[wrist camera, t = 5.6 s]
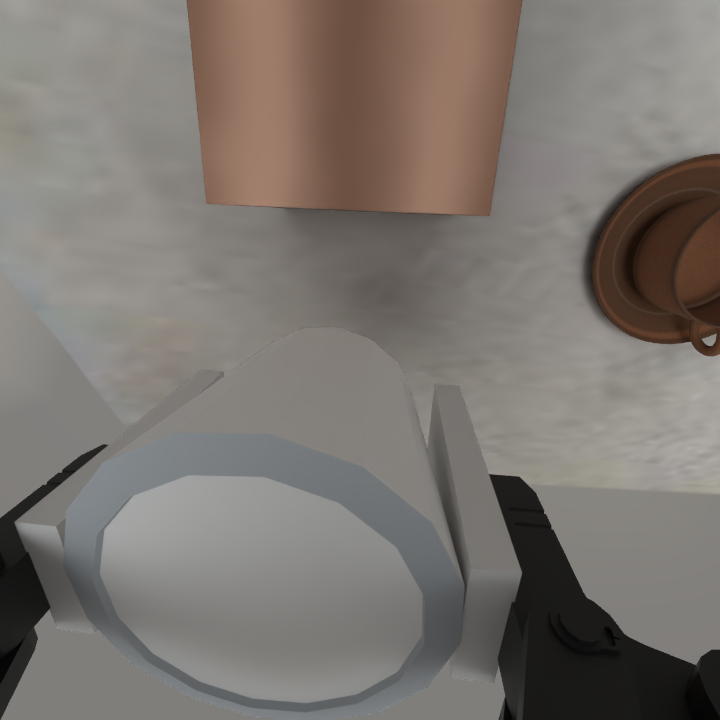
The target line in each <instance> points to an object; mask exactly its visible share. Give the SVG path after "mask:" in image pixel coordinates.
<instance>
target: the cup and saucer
mask: <svg viewBox="0 0 720 720" xmlns="http://www.w3.org/2000/svg"><path fill="white" fill-rule="evenodd" d="M592 277H593V286H594V291H595V295H596V298H597V300H598V303H599V305H600V307H601V308H602V310H603V312H604V313H605V315H606V316H607V317H608V318H609V319H610V321H611V322H612V323H613V324H615V325H616V326H617V327H618V328H619V329H621V330H622V331H623V332H625V333H627V334H629V335H630V336H632V337H635V338H637V339H640V340H643V341H647V342H652V343H660V344H677V343H685V342H692V344H693V346H694V347H695V349H696V350H697V351H698V352H700V353H701V354H703V355H706V356H716V355H719V354H720V154H711V155H704V156H699V157H695V158H692V159H689V160H685V161H682V162H680V163H678V164H675V165H673V166H671V167H669V168H667V169H665V170H663V171H661V172H659V173H658V174H656V175H654V176H653V177H651V178H650V179H648V180H647V181H645V182H644V183H643V184H641V185H640V186H639V187H638V188H636V189H635V190H634V191H633V192H632V193H631V194H630V195H629V196H628V197H627V198H626V199H625V200H624V201H623V202H622V203H621V204H620V206H619V207H618V208H617V209H616V211H615V212H614V213H613V215H612V216H611V218H610V219H609V221H608V223H607V224H606V226H605V228H604V230H603V232H602V234H601V236H600V239H599V241H598V244H597V247H596V251H595V255H594V260H593V269H592ZM716 333H717V336H716V341H715V343H714V345H713V346H707V345H706V344H705V343H704V342H703V341H702V338H706V337H709V336H711V335H714V334H716Z"/></svg>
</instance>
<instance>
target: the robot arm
mask: <svg viewBox="0 0 720 720" xmlns="http://www.w3.org/2000/svg"><path fill="white" fill-rule="evenodd" d="M223 377H224V372H223V371H214V370H200V371H199V372H198V373H196V374H195V375H194V376H193V377H191V378H190V379H189V380H188V381H187V382H185V383H184V384H183V385H182V386H180V387H179V388H178V389H177V390H176V391H174V392H173V393H172V394H171V395H169V396H168V397H167V398H166V399H164V400H163V401H162V402H161V403H160V404H158V405H157V406H156V407H155V408H153V409H152V410H151V411H150V412H149V413H147V414H146V415H145V416H144V417H142V418H141V419H140V420H139V421H138V422H136V423H135V424H134V425H133V426H131V427H130V428H129V429H128V430H126V431H125V432H124V433H123V434H122V435H120V436H119V437H118V438H117V439H115V440H114V441H113V442H112V443H111V444H109V445H105V444H104V445H101V446H99V447H97V448H95V449H93V450H91V451H89V452H87V453H85V454H83V455H81V456H80V457H78V458H77V459H76V460H74V461H73V462H72V463H71V464H70V465H68V466H67V467H65V468H64V469H63V470H62V473H58V474H56V475H55V476H54V477H53V478H51V479H50V480H49V481H48V482H47V484H46V485H42V486H41V487H40V488H38V489H37V490H36V491H35V492H33V493H32V494H31V495H29V496H28V497H27V498H26V499H24V500H23V501H22V502H20V503H19V504H18V505H17V506H15V507H14V508H13V509H11V510H10V511H9V512H8V513H6V514H5V515H4V516H2V517H1V518H0V719H1V717H2V716H3V714H4V711H5V709H6V707H7V705H8V703H9V701H10V699H11V697H12V695H13V693H14V691H15V689H16V687H17V685H18V683H19V681H20V679H21V677H22V675H23V673H24V670H25V669H26V667H27V665H28V663H29V660H30V659H31V657H32V654H33V652H34V650H35V647H36V643H37V640H38V638H37V634H36V632H35V629H34V626H35V625H36V624H37V623H38V621H39V620H40V619H41V618H42V617H43V616H44V614H45V613H46V612H47V611H48V610H49V609H50V612H51V614H52V617H53V619H54V622H55V624H56V627H57V629H58V630H66V631H74V632H82V633H90V634H94V633H95V632H96V631H97V628H96V627H95V626H94V625H93V624H92V623H91V622H90V621H89V620H88V619H87V617H86V614H85V612H84V610H83V608H82V606H81V604H80V602H79V599H78V597H77V595H76V593H75V591H74V589H73V586H72V584H71V582H70V580H69V578H68V576H67V574H66V571H65V569H64V567H63V559H64V542H65V524H66V510H67V509H68V508H69V507H70V505H71V504H72V503H73V501H74V500H75V499H76V497H77V496H78V495H79V493H80V492H81V491H82V490H83V488H84V487H85V486H86V484H87V483H88V482H89V480H90V479H91V478H92V477H93V475H94V474H95V473H96V471H97V470H98V469H99V467H100V466H101V465H102V464H103V462H104V461H106V460H107V459H109V458H110V457H112V456H113V455H114V454H116V453H117V452H119V451H120V450H121V449H123V448H124V447H126V446H127V445H128V444H130V443H131V442H133V441H134V440H135V439H137V438H138V437H140V436H141V435H142V434H144V433H145V432H147V431H148V430H150V429H151V428H152V427H154V426H155V425H157V424H158V423H159V422H161V421H162V420H164V419H165V418H166V417H168V416H169V415H171V414H172V413H173V412H175V411H176V410H178V409H179V408H180V407H182V406H183V405H185V404H186V403H188V402H189V401H190V400H192V399H193V398H195V397H196V396H197V395H199V394H200V393H202V392H203V391H204V390H206V389H207V388H209V387H210V386H211V385H213V384H214V383H216V382H217V381H218V380H220V379H221V378H223ZM427 451H428V455H429V458H430V462H431V466H432V469H433V473H434V477H435V480H436V484H437V487H438V491H439V495H440V498H441V502H442V506H443V509H444V513H445V516H446V520H447V524H448V527H449V531H450V535H451V538H452V542H453V546H454V549H455V553H456V556H457V560H458V564H459V567H460V571H461V575H462V578H463V582H464V586H465V589H464V603H463V617H462V631H461V644H460V645H459V646H458V648H457V649H456V650H455V652H454V653H453V654H452V656H451V657H450V658H449V666H450V675H451V678H456V679H464V680H472V681H480V682H488V683H494V681H495V677H496V673H497V669H498V665H499V668H500V672H501V677H502V682H503V686H504V691H505V699H504V702H503V706H502V710H501V713H500V717H499V720H720V650H711V651H709V652H708V653H706V654H705V655H703V656H702V657H701V658H700V659H699V661H698V663H697V665H694V664H691V663H689V662H686V661H684V660H681V659H679V658H676V657H674V656H671V655H669V654H666V653H664V652H661V651H659V650H656V649H653V648H651V647H648V646H646V645H644V644H642V643H640V642H638V641H636V640H634V639H631V638H629V637H628V636H626V635H625V634H624V633H623V632H622V630H621V629H620V628H619V626H618V625H617V624H616V622H615V621H614V620H613V619H612V617H611V616H610V615H609V614H608V613H607V612H605V611H604V610H603V609H602V608H601V607H599V606H598V605H597V604H596V603H595V602H593V601H592V600H590V599H588V598H586V596H585V594H584V593H583V591H582V589H581V587H580V584H579V582H578V580H577V578H576V576H575V574H574V572H573V570H572V568H571V566H570V563H569V561H568V559H567V557H566V555H565V553H564V551H563V549H562V547H561V545H560V543H559V541H558V538H557V536H556V534H555V532H554V530H552V529H551V524H550V522H549V520H548V518H547V516H546V514H544V509H543V507H542V505H541V503H540V501H539V499H538V497H537V495H536V493H535V492H534V491H533V490H532V489H531V488H530V487H529V486H528V485H527V484H526V483H525V482H524V481H523V480H522V479H521V478H520V477H516V476H504V475H491V474H489V473H488V470H487V467H486V464H485V461H484V458H483V455H482V452H481V449H480V447H479V444H478V441H477V438H476V435H475V432H474V429H473V426H472V423H471V420H470V417H469V414H468V411H467V408H466V405H465V402H464V399H463V396H462V393H461V390H460V387H459V386H450V385H434V394H433V403H432V412H431V422H430V431H429V440H428V449H427Z"/></svg>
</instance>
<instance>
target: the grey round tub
mask: <svg viewBox="0 0 720 720" xmlns="http://www.w3.org/2000/svg"><path fill="white" fill-rule="evenodd" d="M63 567H64V569H65V571H66V574H67V576H68V578H69V580H70V582H71V584H72V586H73V589H74V591H75V593H76V595H77V597H78V599H79V602H80V604H81V606H82V608H83V610H84V612H85V614H86V617H87V619H88V620H89V621H90V622H91V623H92V624H93V625H94V626H95V627H96V628H97V629H98V630H99V631H100V632H101V633H102V634H103V635H104V636H105V637H106V638H107V639H108V640H109V641H110V642H111V643H112V644H113V645H114V646H115V647H116V648H117V649H118V650H119V651H120V652H121V653H122V654H123V655H124V656H125V657H126V658H127V659H128V660H129V661H130V662H131V663H132V664H133V665H135V666H137V667H138V668H140V669H142V670H143V671H145V672H147V673H149V674H150V675H152V676H154V677H155V678H157V679H159V680H161V681H162V682H164V683H166V684H167V685H169V686H171V687H172V688H174V689H176V690H178V691H179V692H181V693H183V694H184V695H186V696H188V697H191V698H194V699H197V700H200V701H203V702H206V703H209V704H212V705H216V706H219V707H222V708H225V709H228V710H231V711H234V712H238V713H241V714H244V715H247V716H250V717H258V718H269V719H280V720H337V719H343V718H349V717H356V716H362V715H368V714H374V713H378V712H380V711H382V710H384V709H386V708H388V707H390V706H392V705H394V704H396V703H398V702H399V701H401V700H403V699H405V698H407V697H409V696H411V695H413V694H415V693H417V692H419V691H421V690H423V689H425V688H427V687H428V686H429V685H430V684H431V682H432V681H433V680H434V678H435V677H436V676H437V674H438V673H439V672H440V670H441V669H442V667H443V666H444V665H445V664H446V662H447V661H448V660H449V658H450V657H451V656H452V654H453V653H454V652H455V650H456V649H457V648H458V646H459V645H460V644H461V631H462V617H463V603H464V589H465V586H464V582H463V578H462V575H461V571H460V567H459V564H458V560H457V556H456V553H455V549H454V546H453V542H452V538H451V535H450V531H449V527H448V524H447V520H446V516H445V513H444V509H443V506H442V502H441V498H440V495H439V491H438V487H437V484H436V480H435V477H434V473H433V469H432V466H431V462H430V458H429V455H428V451H427V447H426V444H425V440H424V437H423V433H422V429H421V426H420V422H419V418H418V415H417V411H416V407H415V404H414V400H413V397H412V393H411V390H410V388H409V386H408V384H407V382H406V380H405V377H404V375H403V373H402V371H401V369H400V367H399V365H398V363H397V362H396V361H395V360H394V359H393V358H392V357H391V356H390V355H388V354H387V353H386V352H385V351H384V350H383V349H382V348H381V347H380V346H378V345H377V344H376V343H375V342H374V341H373V340H371V339H369V338H366V337H363V336H361V335H358V334H355V333H352V332H350V331H347V330H344V329H342V328H339V327H329V328H302V329H300V330H298V331H296V332H293V333H291V334H289V335H287V336H285V337H282V338H280V339H278V340H276V341H273V342H272V343H271V344H269V345H268V346H266V347H265V348H264V349H262V350H261V351H259V352H258V353H256V354H255V355H254V356H252V357H251V358H249V359H248V360H247V361H245V362H244V363H242V364H241V365H240V366H238V367H237V368H235V369H234V370H233V371H231V372H230V373H228V374H227V375H226V376H224V377H223V378H221V379H220V380H218V381H217V382H216V383H214V384H213V385H211V386H210V387H209V388H207V389H206V390H204V391H203V392H202V393H200V394H199V395H197V396H196V397H195V398H193V399H192V400H190V401H189V402H188V403H186V404H185V405H183V406H182V407H180V408H179V409H178V410H176V411H175V412H173V413H172V414H171V415H169V416H168V417H166V418H165V419H164V420H162V421H161V422H159V423H158V424H157V425H155V426H154V427H152V428H151V429H150V430H148V431H147V432H145V433H144V434H142V435H141V436H140V437H138V438H137V439H135V440H134V441H133V442H131V443H130V444H128V445H127V446H126V447H124V448H123V449H121V450H120V451H119V452H117V453H116V454H114V455H113V456H112V457H110V458H109V459H107V460H106V461H104V462H103V464H102V465H101V466H100V467H99V469H98V470H97V471H96V473H95V474H94V475H93V477H92V478H91V479H90V480H89V482H88V483H87V484H86V486H85V487H84V488H83V490H82V491H81V492H80V493H79V495H78V496H77V497H76V499H75V500H74V501H73V503H72V504H71V505H70V507H69V508H68V509H67V510H66V524H65V542H64V559H63Z"/></svg>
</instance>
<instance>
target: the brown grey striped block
mask: <svg viewBox="0 0 720 720" xmlns="http://www.w3.org/2000/svg"><path fill="white" fill-rule="evenodd" d="M521 6H522V0H187V8H188V18H189V29H190V39H191V49H192V59H193V70H194V80H195V90H196V100H197V111H198V121H199V131H200V141H201V152H202V162H203V172H204V182H205V193H206V203H207V204H222V205H240V206H259V207H277V208H299V209H322V210H345V211H369V212H392V213H415V214H439V215H478V216H490V210H491V203H492V197H493V190H494V183H495V177H496V170H497V164H498V157H499V151H500V144H501V137H502V131H503V124H504V118H505V111H506V105H507V98H508V92H509V85H510V78H511V72H512V65H513V59H514V52H515V46H516V39H517V33H518V26H519V19H520V13H521Z"/></svg>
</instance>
